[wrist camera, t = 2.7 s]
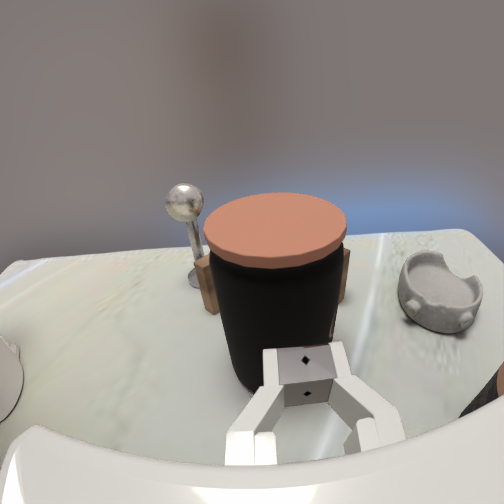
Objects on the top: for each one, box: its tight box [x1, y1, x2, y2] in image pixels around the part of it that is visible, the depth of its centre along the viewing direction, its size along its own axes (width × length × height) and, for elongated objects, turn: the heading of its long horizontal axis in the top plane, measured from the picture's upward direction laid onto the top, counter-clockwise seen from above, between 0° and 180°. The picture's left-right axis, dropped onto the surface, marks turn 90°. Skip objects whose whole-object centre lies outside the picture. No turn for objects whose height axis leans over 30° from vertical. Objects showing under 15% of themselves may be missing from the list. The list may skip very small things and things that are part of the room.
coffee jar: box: [203, 193, 347, 392], centre depth 25 cm, size 11×11×18 cm
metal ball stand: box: [165, 183, 204, 289], centre depth 40 cm, size 5×5×16 cm
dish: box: [398, 250, 483, 333], centre depth 33 cm, size 14×14×5 cm
